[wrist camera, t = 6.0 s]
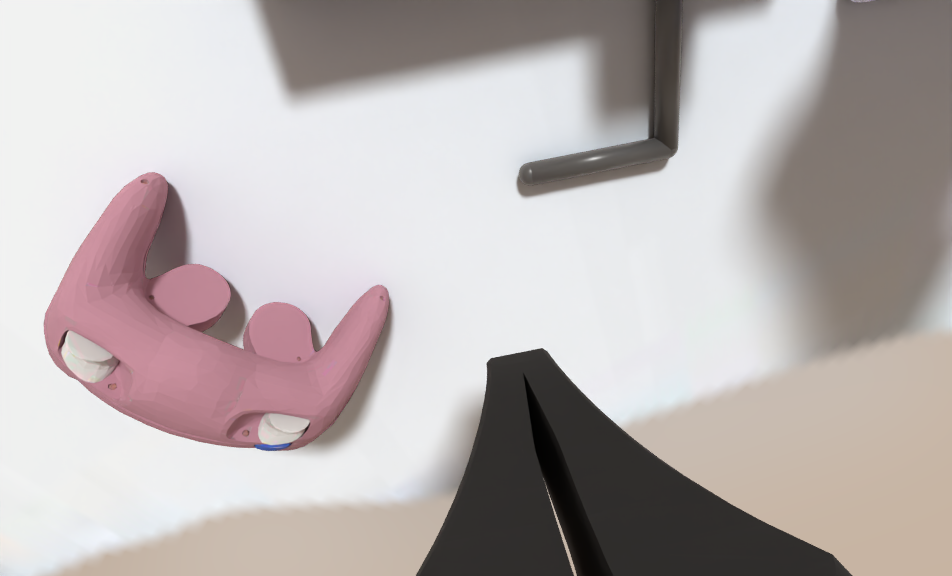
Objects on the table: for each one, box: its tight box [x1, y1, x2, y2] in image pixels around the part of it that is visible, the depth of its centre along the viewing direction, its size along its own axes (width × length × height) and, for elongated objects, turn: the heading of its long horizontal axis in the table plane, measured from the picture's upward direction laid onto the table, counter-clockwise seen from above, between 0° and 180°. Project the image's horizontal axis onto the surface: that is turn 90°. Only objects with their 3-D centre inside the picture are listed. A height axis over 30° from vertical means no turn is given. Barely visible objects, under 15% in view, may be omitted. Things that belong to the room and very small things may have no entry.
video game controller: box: [44, 172, 389, 451], centre depth 17 cm, size 10×5×7 cm, turn 56°
